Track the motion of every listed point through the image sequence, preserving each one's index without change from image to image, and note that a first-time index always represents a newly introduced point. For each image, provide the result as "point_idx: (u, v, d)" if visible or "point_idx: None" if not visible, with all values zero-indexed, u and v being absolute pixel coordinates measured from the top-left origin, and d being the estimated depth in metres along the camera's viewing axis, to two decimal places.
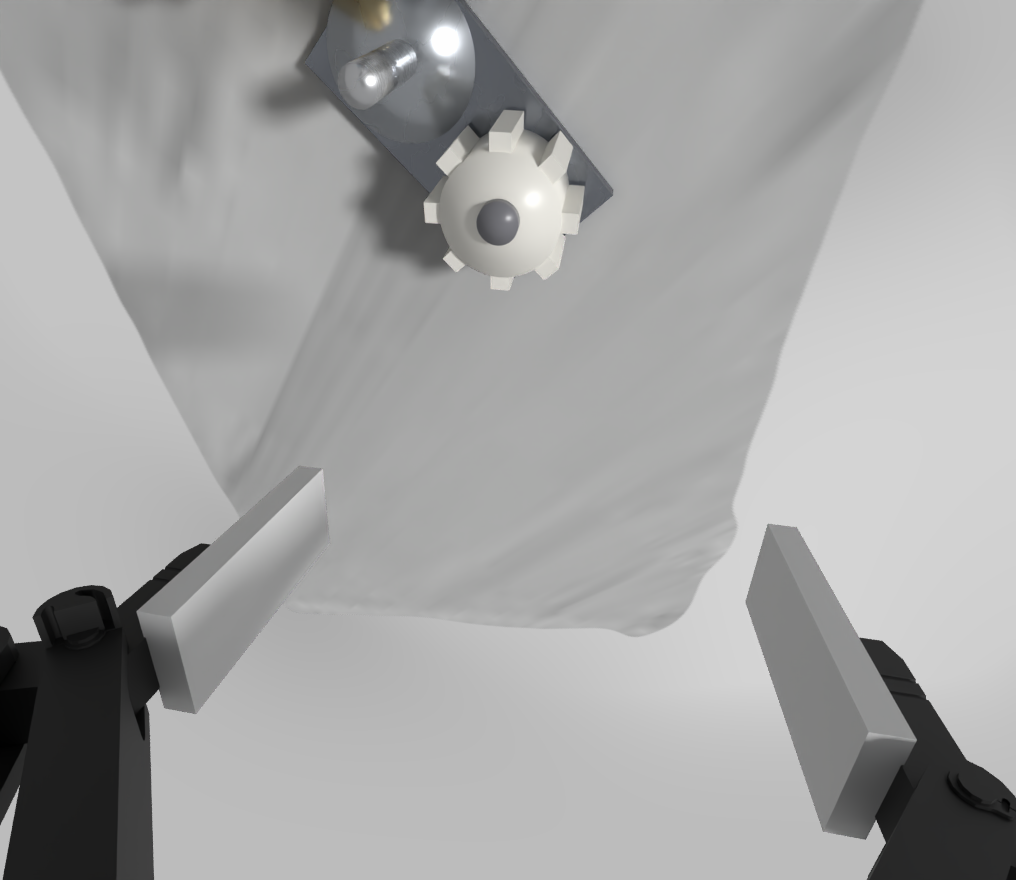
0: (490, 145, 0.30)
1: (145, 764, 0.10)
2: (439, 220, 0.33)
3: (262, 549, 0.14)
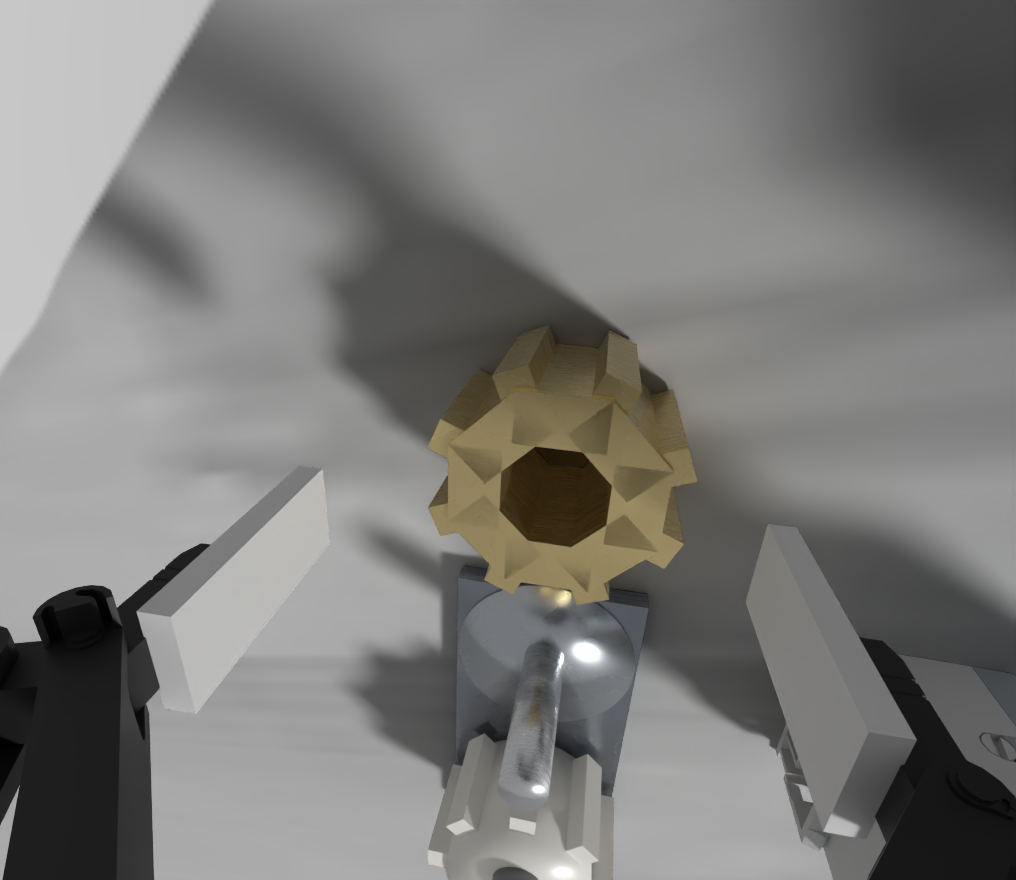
0: (571, 850, 0.26)
1: (145, 764, 0.10)
2: (460, 835, 0.27)
3: (262, 549, 0.14)
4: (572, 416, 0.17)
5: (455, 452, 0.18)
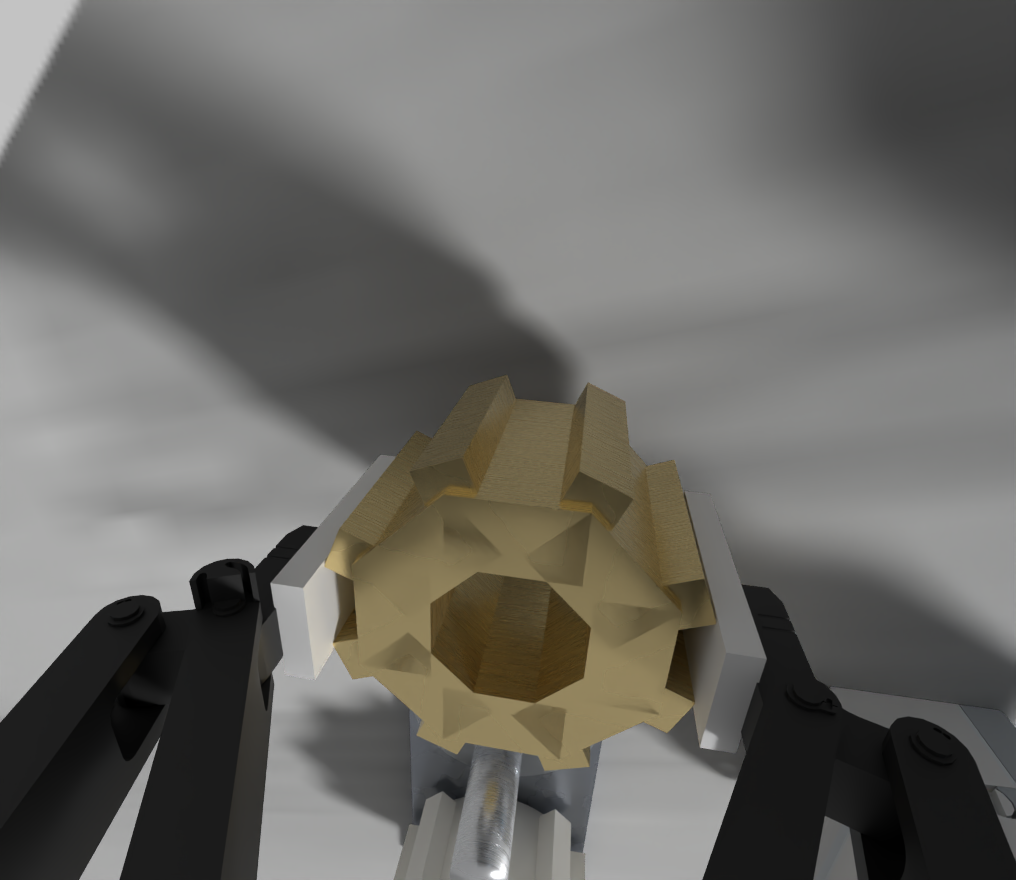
0: None
1: (265, 734, 0.11)
2: None
3: None
4: (530, 533, 0.11)
5: (363, 576, 0.13)
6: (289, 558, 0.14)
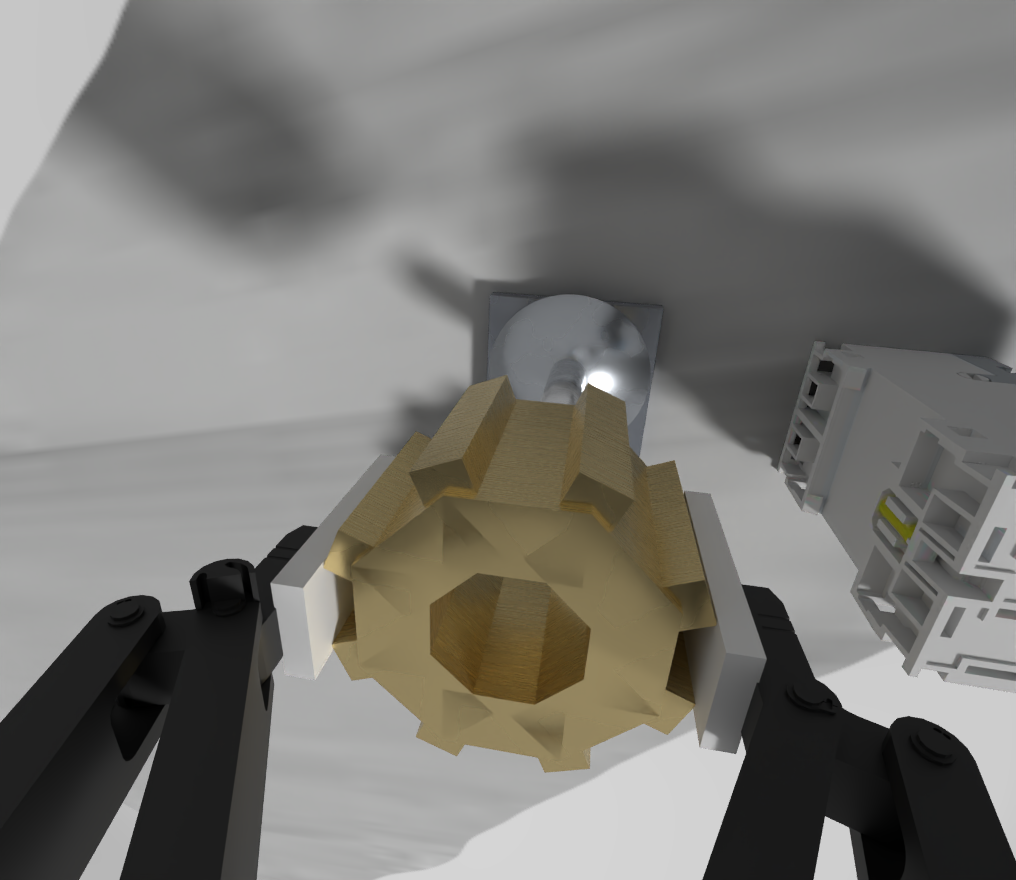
0: None
1: (265, 734, 0.11)
2: None
3: None
4: (530, 534, 0.11)
5: (362, 577, 0.12)
6: (289, 558, 0.14)
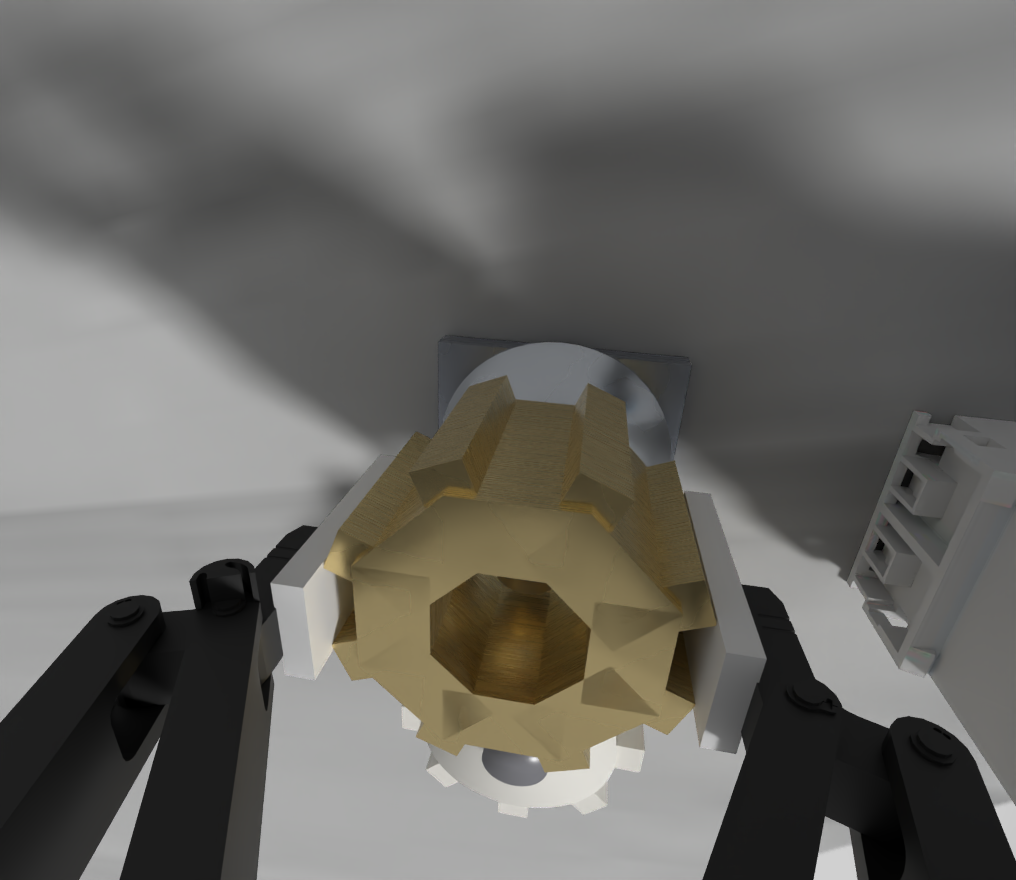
0: None
1: (265, 734, 0.11)
2: None
3: None
4: (530, 534, 0.11)
5: (362, 577, 0.12)
6: (289, 558, 0.14)
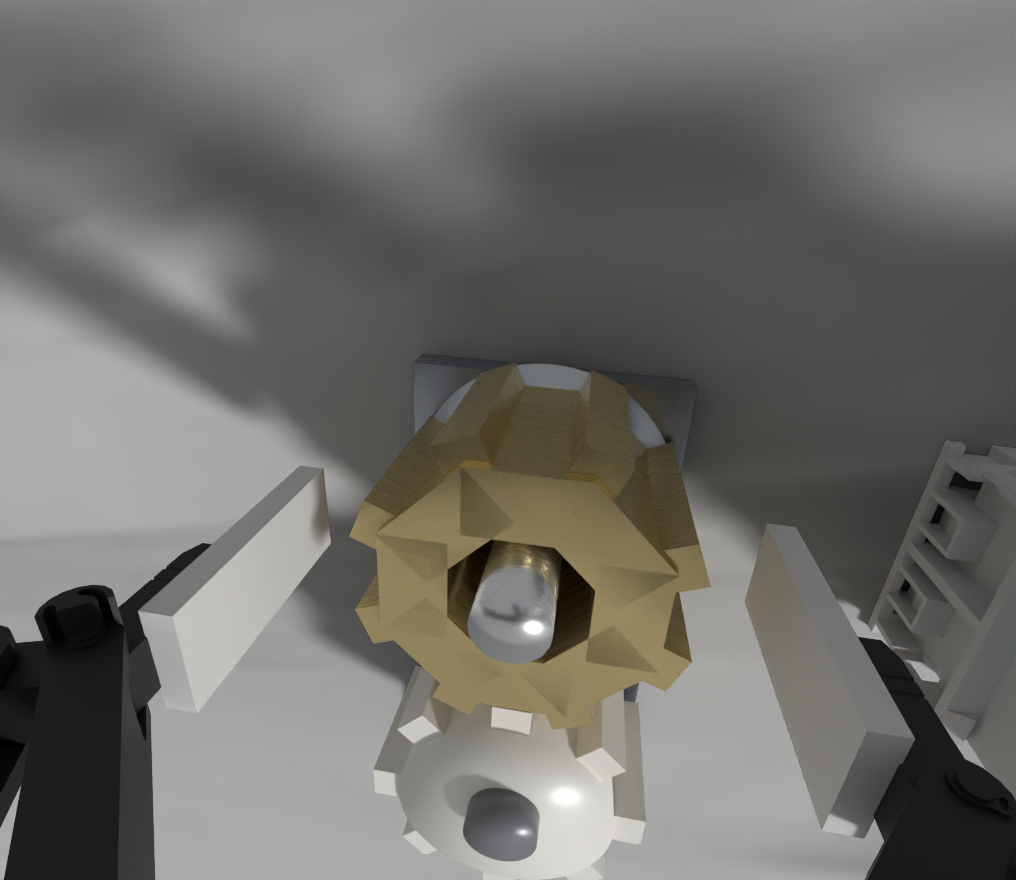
0: (585, 756, 0.17)
1: (146, 764, 0.10)
2: (419, 743, 0.18)
3: (263, 549, 0.14)
4: (540, 502, 0.12)
5: (385, 544, 0.14)
6: None
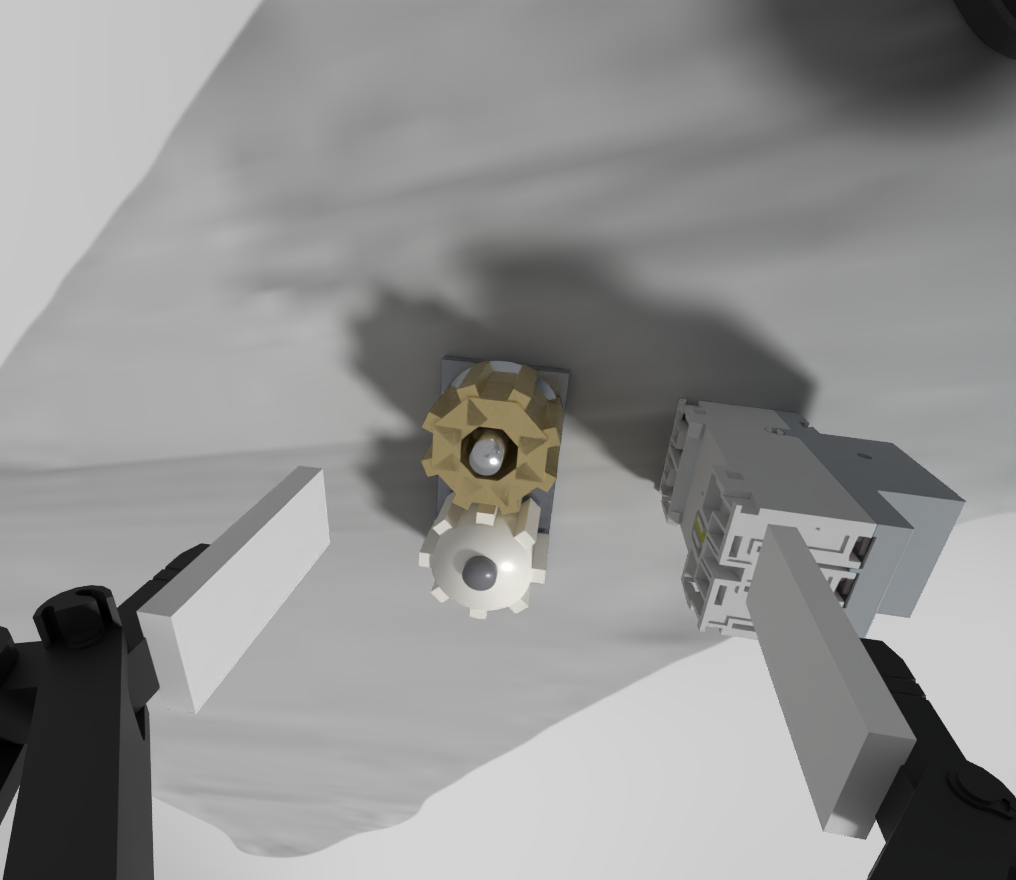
0: (518, 535, 0.38)
1: (145, 764, 0.10)
2: (442, 535, 0.39)
3: (262, 549, 0.14)
4: (497, 410, 0.34)
5: (436, 429, 0.35)
6: None
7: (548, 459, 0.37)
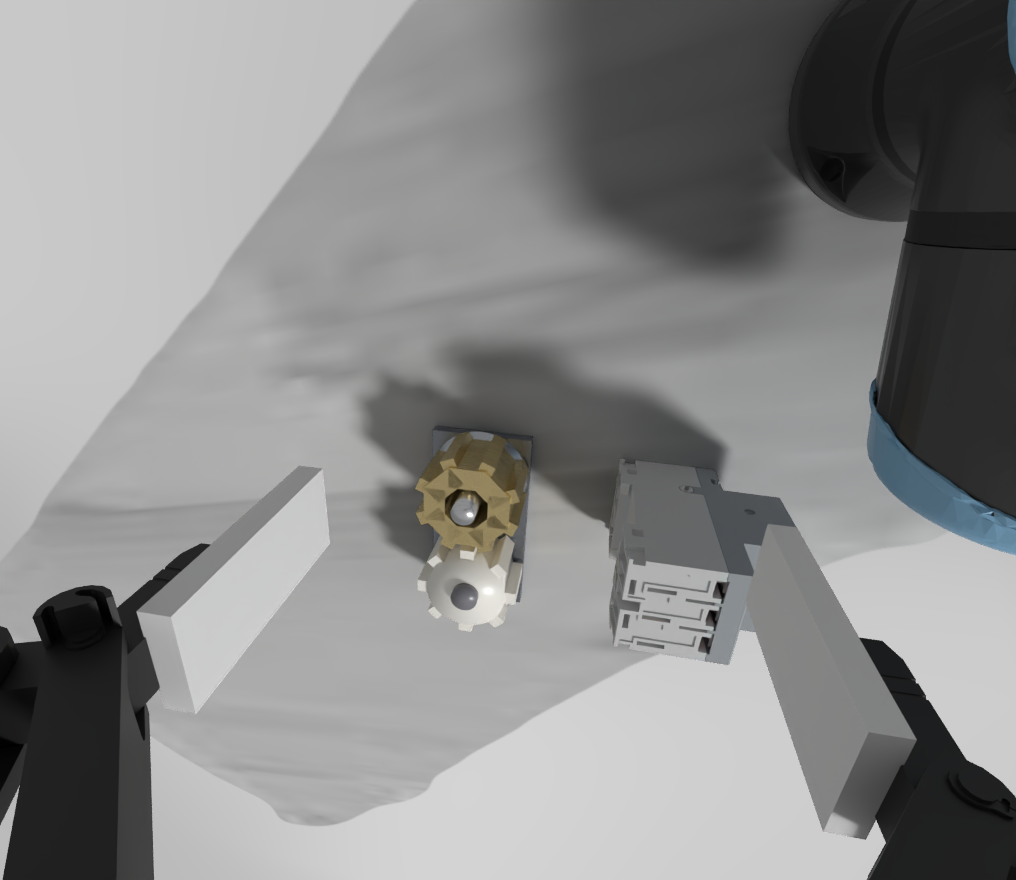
0: (492, 568, 0.49)
1: (145, 764, 0.10)
2: (434, 567, 0.50)
3: (262, 549, 0.14)
4: (470, 477, 0.45)
5: (426, 490, 0.46)
6: None
7: (514, 510, 0.48)
